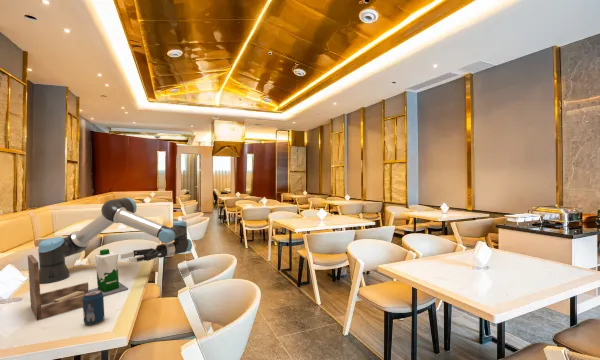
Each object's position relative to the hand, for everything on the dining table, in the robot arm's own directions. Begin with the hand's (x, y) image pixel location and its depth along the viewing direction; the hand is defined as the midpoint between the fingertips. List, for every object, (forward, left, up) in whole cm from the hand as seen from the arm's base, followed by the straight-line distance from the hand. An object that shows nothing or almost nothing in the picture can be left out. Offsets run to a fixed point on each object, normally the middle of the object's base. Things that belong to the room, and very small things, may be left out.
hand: (125, 258), depth 161 cm
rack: (-11, -25, -15) cm, 31 cm away
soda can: (+18, -36, -15) cm, 43 cm away
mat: (-4, -7, -15) cm, 17 cm away
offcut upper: (-8, -24, -13) cm, 29 cm away
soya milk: (-4, -7, -14) cm, 16 cm away
